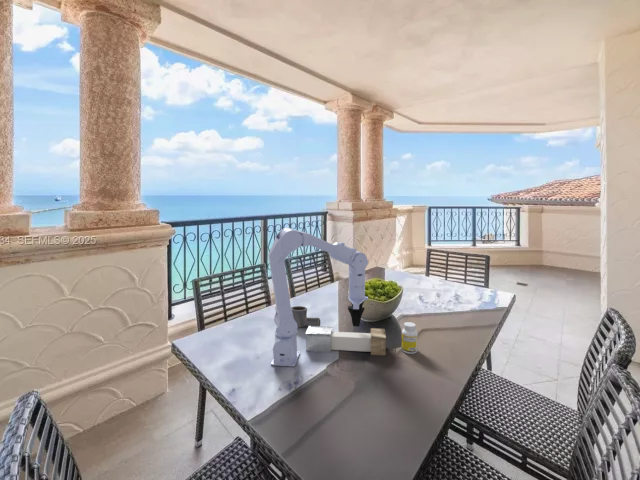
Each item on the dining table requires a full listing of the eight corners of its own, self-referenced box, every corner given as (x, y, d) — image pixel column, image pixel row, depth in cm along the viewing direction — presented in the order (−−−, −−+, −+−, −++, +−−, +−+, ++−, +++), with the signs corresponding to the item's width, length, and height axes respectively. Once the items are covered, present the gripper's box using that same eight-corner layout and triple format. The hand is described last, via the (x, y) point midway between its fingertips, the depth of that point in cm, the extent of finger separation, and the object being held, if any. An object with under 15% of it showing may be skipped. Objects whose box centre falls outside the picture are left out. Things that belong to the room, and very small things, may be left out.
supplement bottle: (405, 345, 118) (406, 319, 116) (419, 350, 114) (420, 323, 113) (398, 351, 113) (399, 324, 112) (413, 355, 110) (414, 328, 109)
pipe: (318, 330, 132) (318, 311, 130) (288, 328, 134) (288, 309, 133) (321, 324, 137) (321, 306, 136) (292, 322, 140) (292, 305, 139)
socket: (385, 355, 110) (385, 337, 109) (370, 354, 111) (371, 336, 110) (384, 345, 117) (384, 328, 117) (370, 345, 118) (370, 328, 117)
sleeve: (330, 352, 113) (330, 334, 112) (305, 350, 114) (305, 333, 113) (332, 343, 120) (332, 327, 119) (309, 342, 121) (308, 326, 120)
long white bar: (376, 352, 112) (376, 338, 112) (328, 349, 115) (327, 336, 114) (376, 346, 116) (376, 333, 116) (329, 344, 119) (329, 331, 118)
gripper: (368, 291, 106) (367, 330, 108) (368, 280, 120) (367, 314, 122) (346, 290, 107) (346, 329, 109) (349, 279, 121) (349, 314, 123)
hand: (356, 321), depth 116 cm, fingers open, 7 cm apart
